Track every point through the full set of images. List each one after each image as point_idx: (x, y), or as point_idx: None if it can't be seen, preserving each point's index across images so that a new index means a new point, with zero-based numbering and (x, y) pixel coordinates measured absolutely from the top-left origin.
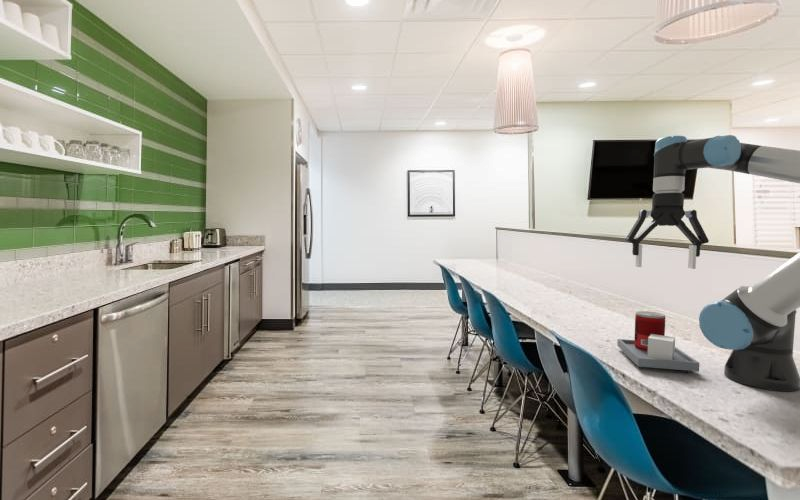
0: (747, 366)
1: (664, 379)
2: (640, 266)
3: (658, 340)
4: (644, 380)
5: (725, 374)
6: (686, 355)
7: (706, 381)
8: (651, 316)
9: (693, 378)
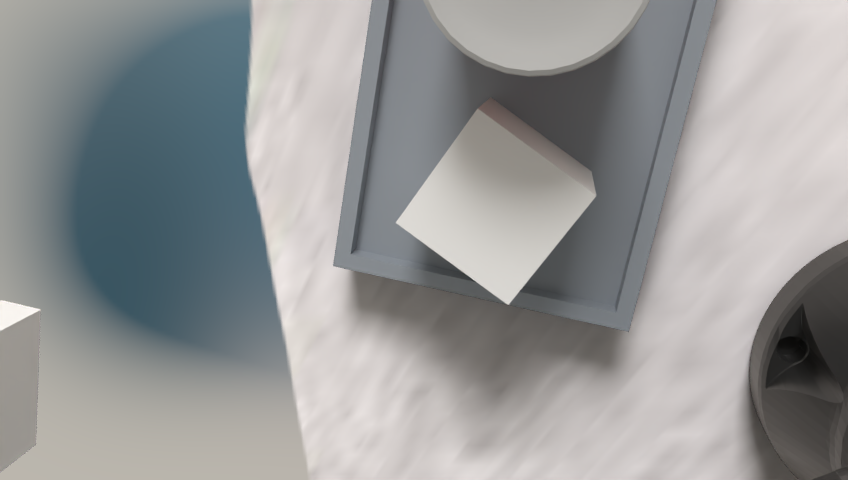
0: (801, 462)
1: (416, 360)
2: (16, 447)
3: (443, 256)
4: (319, 373)
5: (765, 316)
6: (652, 196)
7: (603, 380)
8: (487, 66)
9: (567, 344)
